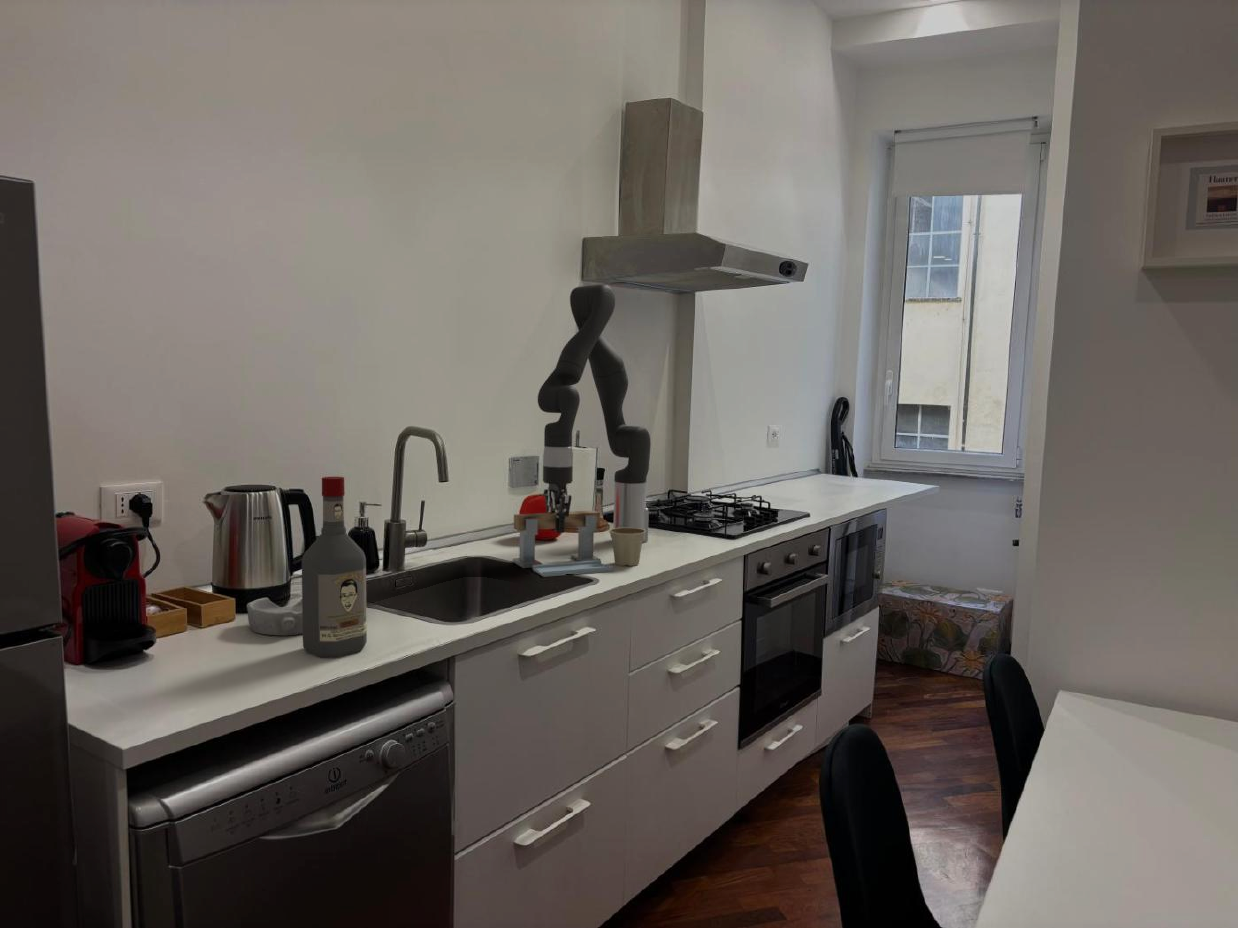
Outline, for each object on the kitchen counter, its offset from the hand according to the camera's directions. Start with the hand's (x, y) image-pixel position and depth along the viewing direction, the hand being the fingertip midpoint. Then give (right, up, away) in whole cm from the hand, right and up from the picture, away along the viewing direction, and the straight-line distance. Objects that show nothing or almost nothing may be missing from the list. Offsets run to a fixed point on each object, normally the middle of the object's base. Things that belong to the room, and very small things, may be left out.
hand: (557, 530), depth 234 cm
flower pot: (+18, -9, 0) cm, 20 cm away
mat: (+4, -9, -9) cm, 14 cm away
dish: (-46, -14, -62) cm, 78 cm away
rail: (0, +1, 0) cm, 1 cm away
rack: (0, -8, +1) cm, 8 cm away
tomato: (-6, -5, +33) cm, 34 cm away
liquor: (-33, -15, -75) cm, 83 cm away
